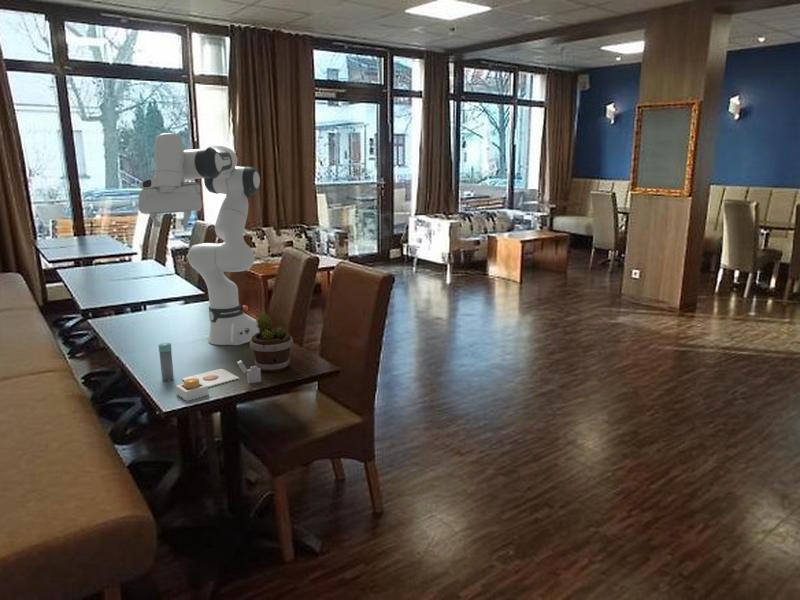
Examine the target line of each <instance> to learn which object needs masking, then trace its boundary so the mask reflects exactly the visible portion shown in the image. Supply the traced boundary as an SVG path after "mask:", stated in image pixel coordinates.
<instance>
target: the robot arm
mask: <svg viewBox="0 0 800 600" xmlns="http://www.w3.org/2000/svg"><path fill="white" fill-rule="evenodd" d="M153 150H154V152H153V155H154V163H155V170H154V176H152V177H149V178H147V179H144V180H142V181H141V182H140V183H139V188H140V189H141V190H140V191H139V194H138V210H139V212H140V213H141V214H144V215H149V218H150V220H152V222H153V228H156V229H157V228H161V227H162V226H161V224H162V222H161V221H158V216H159V214H160V215H161V214H170V213H171V214H172V213H183V214H184V216H183V219H180V225H181V226H183V227H186V226H187V227H188V226H189V220H190V217H192V212H201V210H202V208H203V201H202V194H201V192H202V189H201V185H200V184H199V183H198V182H196V181H188V180H197V179H200V180H201V179H203V181H204V186H205V188H206V189H207V191H208V192H210V193H213V194H218V195H219V194H223V195H226V196H225V198H224V199H223V201H222V204H221V206H220V209H219V212H218V215H217V218H216V222H215V224H214V225H215V226H214V231H215V234H216V236H217V237H218V238H219V239H220V240H222V241H223V242H221V243H219V242H202V243H198V244H197V243H196V244H193V245H192V246H191V247H190V248H189V250H188V251H187V252H188V253H187V261H188V263H189V265H190V267H191V268H192V269H194V270H195V271H197V273H198V274H199V275H200V277H202V279H203V280H204V282H205V285H206V287H207V293H208V299H209V307H208V316H209V322H210V323H209V325H210V326H209V333H208V334H209V335H208V339H207V342H208V344H211V345H217V346H240V345H243V344H245V343H250V339H251V338H252V337H253V336H254V335H255V334H256V333H259V332H260V331H259V330H258V329H259V328H257V326H256V325H258V322H257V319H256V320H255V319H254V318H252V317H251V316H249V314H246V313H245V312H247V311H248V305H245V304H243V305H242V304H240V302H239V301H240V300H239V288H238V285H237V284H236V283H235V282H234V281H232V280H231V279H229V278H228V277H227V276H226V275H225V273H226V272H228V273H238V272H245V271H249V270H250V269H251V268H252V266H253V265H254V263H255V253H254V251H253V249H252V247H250V245H248V244H247V243H246V241H245V239H244V233H245V229H246V228H245V227H246V222H247V218H248V215H249V201H248V199H251V198H252V197H253V196H254V194H256V192H258V190H259V188H260V185H261V184H260V183H261V181H260V180H261V179H260V178H261V177H260V174H259V171H258V170H257V168H255V167H252V166H248V165H247V166H238V156H237V153H235V151H234V150H233V149H231V148H229V147H228V146H227V147H226V146H223V145H211V146H207V147H203V148H194V149H186V148H184V144H183V138H182V135H181V134H179V133H175V132H165V133H160V134H158V135H156V137H155V140H154V149H153ZM185 180H187V181H185ZM224 272H225V273H224ZM255 321H256V322H255Z"/></svg>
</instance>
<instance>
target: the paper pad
mask: <svg viewBox="0 0 800 600" xmlns="http://www.w3.org/2000/svg"><path fill="white" fill-rule="evenodd" d="M190 378H197V379H199V381H200V382H202V383H204V384H206V385H207V386H208V387H210V388H212V386H213V387H216V386H215V385H217V386H219V385H218V384H220V385H222V384H221V383H224V384H226V383H225V382H228V383H230V382H229V381H231V382H233V381H232V380H235V381H237V380H236V379H238V380H240V377H239V376H237V375H235V374H233V373H232V372H230V371H228V370H226V369H223V368H222V367H221V368H218V369H213V370H210V371H205V372H201V373H197V374H195V375H190V376H186V377H182V379H181V380H182V381H183V380H184V381H185V380H186V379H190ZM184 381H183V382H184Z"/></svg>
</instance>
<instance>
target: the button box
mask: <svg viewBox="0 0 800 600" xmlns="http://www.w3.org/2000/svg"><path fill="white" fill-rule="evenodd" d="M199 385H200V386H199V387H197V388H194V389H190V390H187V389H185V388H184V383H180V384H177V385H175V391H176V393H175V394H176V395H177V396H178V395H179V396H180V398H181V397H182V398H183V400H184V401H185V400H186V402H189V400H190V401H192V399H193V400H196V398H197V399H200V398H203V397H202V396H204V397H206V396H205V395H207V396H209V388H208V386H207V385H206V384H204V383H202V382H200V381H199ZM179 396H178V397H179ZM199 397H200V398H199ZM182 398H181V399H182Z"/></svg>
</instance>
